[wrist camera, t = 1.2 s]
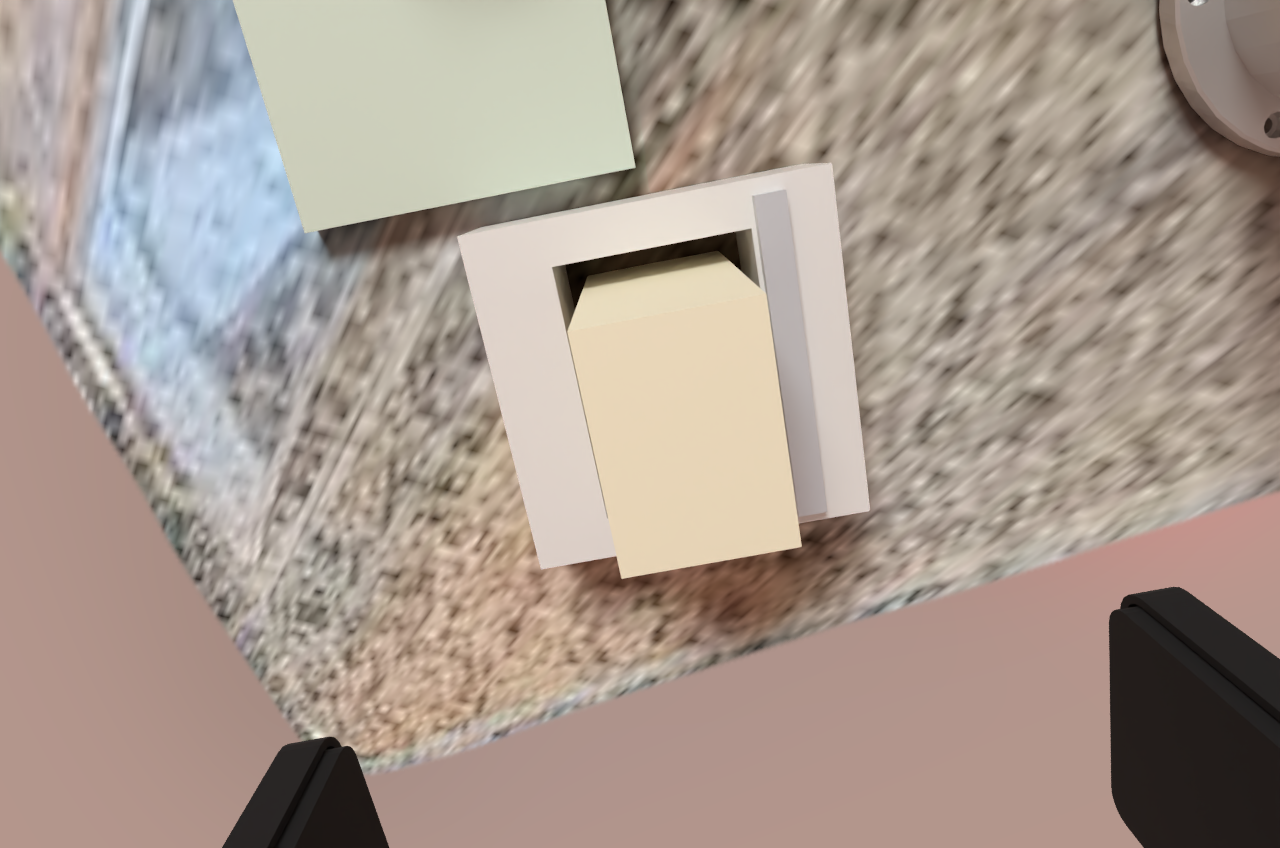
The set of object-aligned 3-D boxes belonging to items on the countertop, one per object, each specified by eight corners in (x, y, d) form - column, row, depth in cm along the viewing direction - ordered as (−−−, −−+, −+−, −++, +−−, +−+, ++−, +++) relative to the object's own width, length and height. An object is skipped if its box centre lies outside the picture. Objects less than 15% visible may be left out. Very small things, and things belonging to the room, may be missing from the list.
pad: (584, -114, 26) (582, -126, 25) (635, 167, 29) (635, 167, 28) (235, -39, 27) (217, -48, 26) (317, 230, 30) (305, 233, 29)
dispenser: (801, 164, 29) (836, 162, 24) (838, 466, 33) (874, 516, 28) (481, 227, 30) (453, 237, 25) (552, 517, 33) (539, 576, 29)
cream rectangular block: (717, 250, 30) (766, 293, 20) (744, 424, 32) (801, 547, 22) (587, 275, 30) (567, 331, 20) (623, 446, 32) (621, 579, 22)
